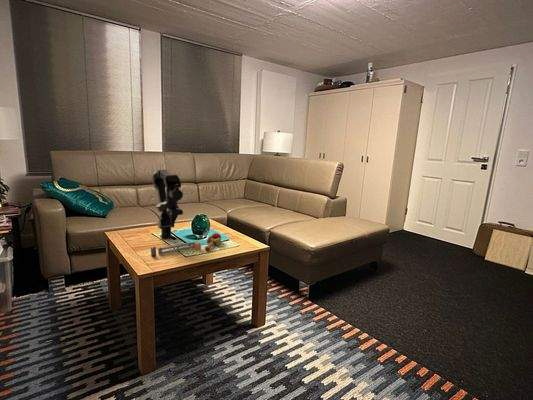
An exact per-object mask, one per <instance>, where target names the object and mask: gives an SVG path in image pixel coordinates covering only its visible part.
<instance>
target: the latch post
mask: <svg viewBox="0 0 533 400" xmlns="http://www.w3.org/2000/svg"><path fill="white" fill-rule="evenodd" d="M193 242H194V248H193V250H194V251H195V252H198V251H201V250H202V242H200V241H193Z"/></svg>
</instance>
